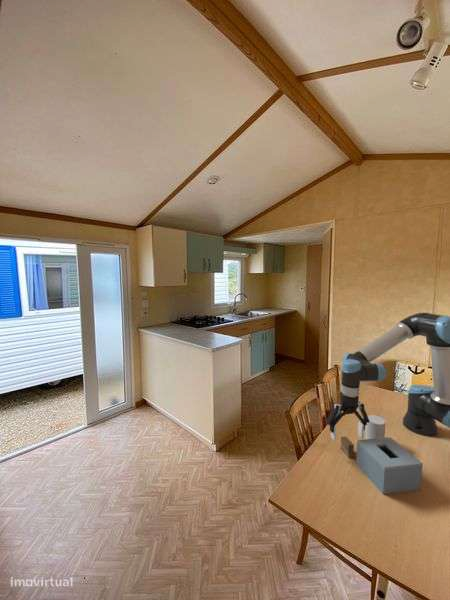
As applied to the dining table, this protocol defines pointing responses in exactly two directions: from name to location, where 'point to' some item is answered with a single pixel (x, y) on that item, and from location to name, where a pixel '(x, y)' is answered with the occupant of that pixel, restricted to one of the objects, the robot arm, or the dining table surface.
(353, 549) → the dining table surface
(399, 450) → the coin box
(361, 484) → the dining table surface
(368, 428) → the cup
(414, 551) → the dining table surface
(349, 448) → the brown square block
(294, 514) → the dining table surface
